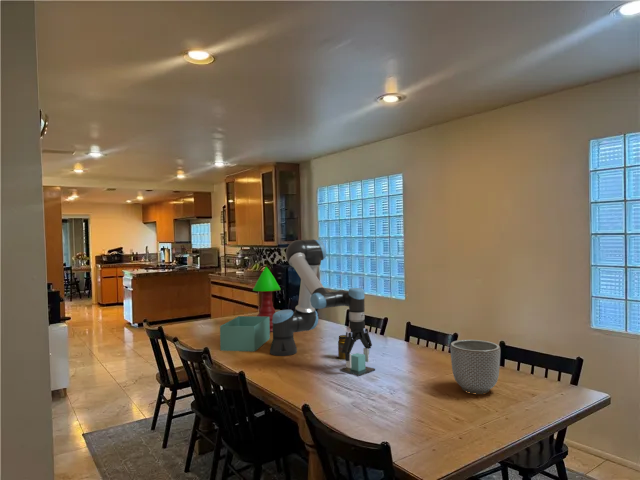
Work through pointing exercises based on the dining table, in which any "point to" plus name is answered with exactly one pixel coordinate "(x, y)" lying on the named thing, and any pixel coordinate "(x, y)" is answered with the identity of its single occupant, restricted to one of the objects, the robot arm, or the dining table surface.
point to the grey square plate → (358, 373)
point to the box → (244, 333)
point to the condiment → (340, 348)
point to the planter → (475, 364)
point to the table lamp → (267, 294)
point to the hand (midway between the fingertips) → (357, 364)
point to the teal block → (357, 362)
